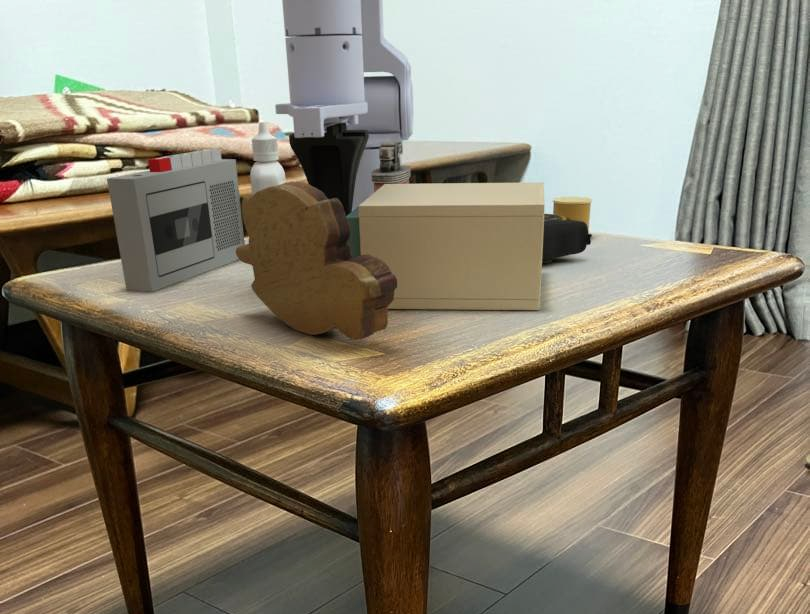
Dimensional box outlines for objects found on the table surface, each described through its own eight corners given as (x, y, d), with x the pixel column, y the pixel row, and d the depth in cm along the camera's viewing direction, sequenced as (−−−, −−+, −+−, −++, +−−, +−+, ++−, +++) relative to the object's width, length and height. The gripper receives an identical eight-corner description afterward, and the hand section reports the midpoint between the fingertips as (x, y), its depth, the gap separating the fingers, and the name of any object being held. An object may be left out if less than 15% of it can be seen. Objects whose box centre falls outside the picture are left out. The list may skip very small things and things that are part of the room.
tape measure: (532, 270, 79) (534, 227, 77) (487, 258, 84) (488, 217, 82) (590, 261, 82) (593, 219, 80) (543, 249, 87) (545, 210, 85)
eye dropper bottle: (306, 247, 91) (296, 120, 85) (280, 258, 87) (268, 124, 81) (269, 246, 93) (257, 120, 87) (242, 256, 88) (227, 124, 82)
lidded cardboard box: (363, 308, 68) (358, 205, 65) (387, 274, 79) (384, 183, 75) (539, 310, 66) (544, 204, 63) (539, 274, 77) (543, 182, 74)
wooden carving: (420, 345, 59) (417, 186, 54) (370, 360, 56) (362, 195, 52) (272, 306, 70) (259, 170, 65) (224, 317, 67) (206, 176, 62)
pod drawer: (292, 294, 69) (285, 217, 66) (323, 265, 79) (318, 196, 76) (509, 296, 67) (512, 216, 64) (513, 265, 77) (515, 194, 74)
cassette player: (152, 291, 75) (131, 165, 70) (126, 289, 76) (104, 165, 71) (246, 256, 88) (234, 148, 83) (223, 255, 89) (209, 147, 84)
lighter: (401, 256, 86) (399, 145, 81) (368, 255, 87) (363, 145, 82) (417, 241, 93) (415, 138, 88) (386, 240, 94) (382, 138, 89)
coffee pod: (550, 234, 95) (552, 196, 93) (588, 234, 94) (591, 196, 92) (551, 241, 91) (553, 202, 89) (590, 241, 91) (593, 202, 89)
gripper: (294, 40, 72) (307, 214, 78) (243, 36, 59) (263, 244, 66) (379, 37, 71) (385, 214, 78) (345, 33, 58) (355, 244, 65)
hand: (335, 228), depth 72 cm, fingers closed
